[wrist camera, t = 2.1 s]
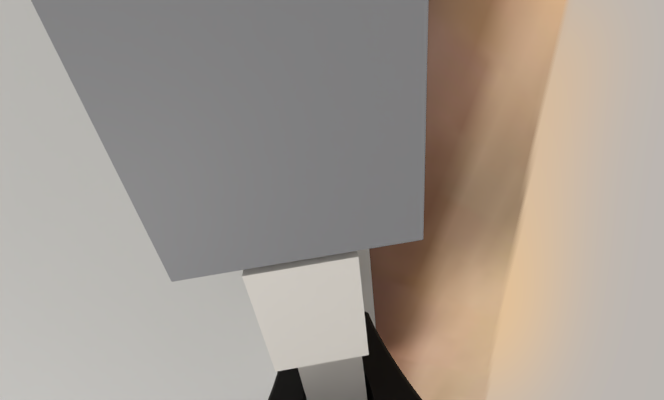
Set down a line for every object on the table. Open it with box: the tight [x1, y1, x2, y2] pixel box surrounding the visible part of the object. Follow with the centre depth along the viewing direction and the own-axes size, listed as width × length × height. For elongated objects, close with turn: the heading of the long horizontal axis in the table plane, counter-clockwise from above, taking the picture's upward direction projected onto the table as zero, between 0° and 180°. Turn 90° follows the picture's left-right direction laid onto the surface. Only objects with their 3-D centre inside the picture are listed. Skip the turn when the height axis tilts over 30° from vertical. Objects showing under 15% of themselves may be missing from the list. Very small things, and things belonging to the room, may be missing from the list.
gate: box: [31, 0, 428, 400], centre depth 9 cm, size 17×3×6 cm, turn 7°
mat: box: [0, 0, 376, 400], centre depth 12 cm, size 20×18×1 cm
